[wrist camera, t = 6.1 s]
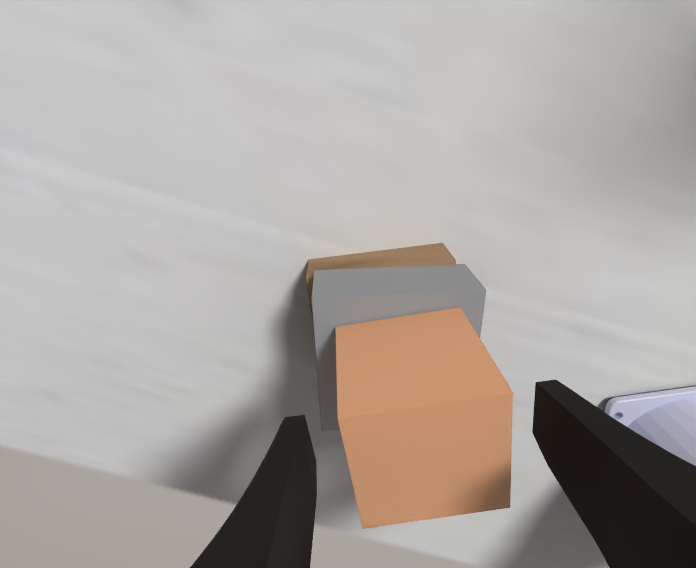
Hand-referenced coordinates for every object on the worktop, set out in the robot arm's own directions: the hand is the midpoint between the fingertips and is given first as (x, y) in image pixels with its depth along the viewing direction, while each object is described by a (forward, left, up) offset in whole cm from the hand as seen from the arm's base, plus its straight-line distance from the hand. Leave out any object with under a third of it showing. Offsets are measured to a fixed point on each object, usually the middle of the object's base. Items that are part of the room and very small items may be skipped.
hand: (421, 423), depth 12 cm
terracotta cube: (0, 0, -3) cm, 3 cm away
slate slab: (0, 0, -5) cm, 5 cm away
